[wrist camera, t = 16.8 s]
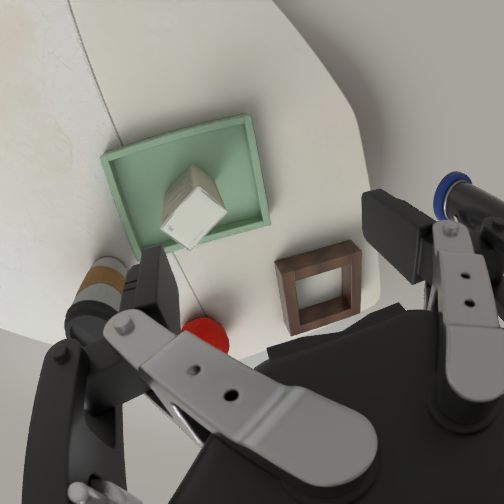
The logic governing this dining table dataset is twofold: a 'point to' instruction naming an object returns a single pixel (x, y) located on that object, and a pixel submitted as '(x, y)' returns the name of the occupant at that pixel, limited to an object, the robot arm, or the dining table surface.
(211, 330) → the tomato
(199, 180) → the cosmetic box
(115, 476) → the robot arm
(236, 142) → the tray
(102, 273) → the coffee cup
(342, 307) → the wooden square frame
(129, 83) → the dining table surface
